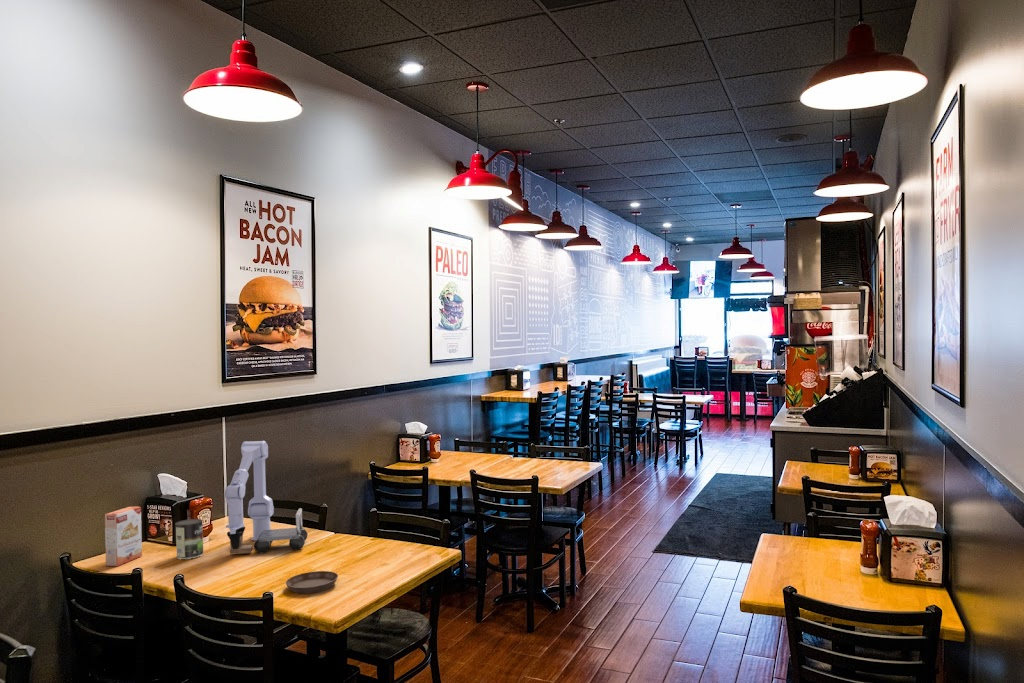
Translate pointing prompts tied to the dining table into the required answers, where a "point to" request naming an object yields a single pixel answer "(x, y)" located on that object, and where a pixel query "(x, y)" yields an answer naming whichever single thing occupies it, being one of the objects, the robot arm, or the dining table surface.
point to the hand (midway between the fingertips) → (236, 547)
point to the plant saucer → (312, 581)
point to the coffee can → (189, 538)
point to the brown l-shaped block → (241, 548)
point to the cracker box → (123, 536)
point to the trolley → (283, 536)
